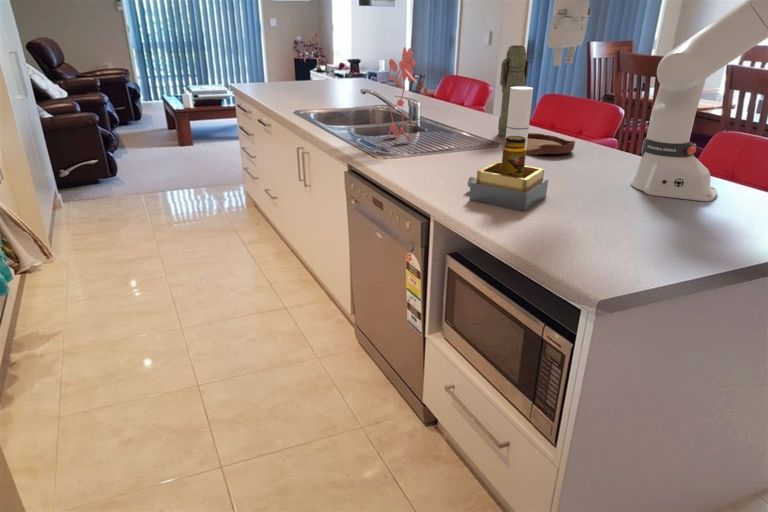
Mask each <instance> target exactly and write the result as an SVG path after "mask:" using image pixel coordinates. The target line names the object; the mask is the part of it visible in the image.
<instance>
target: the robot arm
mask: <svg viewBox="0 0 768 512" xmlns="http://www.w3.org/2000/svg"><path fill="white" fill-rule="evenodd" d="M591 15H592V8H591V6H590V0H553V7H552V15H551V16H552V18H551V20H550V23H549V30H548V35H547V36H548V37H547V43H546V45H547V48H549V49H552V56H553V64H552V65H553V66H555V67H560V66H562V61H563V59H562V53H563V50H564V48H566V49H567V51H566V55H565V57H564V64H572V63H573V61H574V57H575V53H576V51H577V46H582V44H583V43H584V40H585V36H586V31H587V26H588V22H589V19H588V18H590V16H591ZM767 39H768V0H743V1H740V2H739V3H738V4H737V5H735V6H734V7H733V8H731V9H730V10H728V11H727V12H726V13H724V14H723V15H721V16H720V17H718V18H717V19H716V20H714V21H713V22H711V23H710V24H709V25H707V26H706V27H703V28H702V29H701V30H700V31H698V32H696V33H695V34H694V35H692V36H691V37H689V38H688V39H686V40H685V41H683V42H682V43H680V44H679V45H677V46H676V47H674V48H673V49H671V50H670V51H669V52H668V53H666V54H665V55H664V56H663V57H662V58H661V60H660V61H659V63H658V65H657V69H656V78H657V81H658V83H659V84H660V85H659V87H658V91H657V94H656V97H655V100H654V103H653V106H652V109H651V114H650V117H649V118H650V119H649V124H648V128H647V132H646V137H644V140H643V142H642V147H641V153H640V154H641V155H640V156H641V159H640V161H639V165H638V166H637V169H636V172H635V174H634V177H633V178H632V181H631V182H630V185H631V186H632V187H634V188H635V189H637V190H640V191H641V192H642V191H643V192H644V193H645V194H647V195H650V196H657V197H665V198H673V199H674V198H675V199H683V200H691V201H697V202H699V201H700V202H709V201H713V200H714V199H715V198H716V197H717V195H718V194H717V193H718V190H717V189H716V187H713V186H711V173H710V171H709V169H708V168H707V167H706V166H705V165H704V164H703V163H702V162H701V161H700V160H699V159H698V158H697V157H696V156H695V153H696V152H697V144H696V143H693V142H692V141H690V139H691V135H692V131H693V127H694V122H695V118H696V114H697V111H698V107H699V105H700V101H701V98H702V94H703V89H704V87H705V83H706V80H707V78H709V77H710V76H712V75H713V74H714V73H716V72H718V71H719V70H721V69H722V68H723V67H726V66H727V65H728V64H730V63H731V62H733V61H734V60H736V59H737V58H739V57H740V56H742V55H743V54H745V53H746V52H748V51H750V50H751V49H752V48H755V47H756V46H757V45H759V44H760V43H762V42H763V41H765V40H767Z"/></svg>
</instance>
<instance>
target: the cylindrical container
mask: <svg viewBox="0 0 768 512" xmlns="http://www.w3.org/2000/svg"><path fill="white" fill-rule="evenodd" d="M533 93H534V88H533V87H530V86H525V87H511V88H510V98H509V108H508V118H507V129H506V137H508V136H521V137H524V138H525V139H526V141H525V148H527V139H528V133H529V131H530V130H529V129H530V128H529V127H530V121H531V112H532V104H533V103H532V102H533ZM506 137H505V138H506ZM505 142H506V140H505V141H504V143H505ZM526 156H527V154H526V155H525V158H526ZM525 164H526V163H525ZM525 164H524V166H526V165H525Z"/></svg>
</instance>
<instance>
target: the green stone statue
mask: <svg viewBox="0 0 768 512" xmlns="http://www.w3.org/2000/svg"><path fill="white" fill-rule="evenodd" d="M505 57H506V58H504V59H503V60H502V62H501V69H500V70H501V71H500V79H499V80H500V82H499V84H500V86H501V93H502V95H501V100H502V101H501V109H500V116H499V118H498V125H497V130H498V132H497V133H498V134H497V136H498V137H500V138H506V129H507V118H508V108H509V98H510V88H511V87H526V85H527V82H528V77H529V76H528V75H529V68H530V67H529V66H530V60H529V58H527V50H526V47H525V46H524V45H516V44H515V45H511V46H509V47H508V50H507V51H506V56H505Z"/></svg>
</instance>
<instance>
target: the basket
mask: <svg viewBox="0 0 768 512" xmlns="http://www.w3.org/2000/svg"><path fill="white" fill-rule="evenodd" d="M575 144H576V141H575V140H567V139H564V138H560V137H558V136H555V135H549V134H544V133H537V132H536V133H535V132H534V133H533V132H532V133H531V132H530V133H529V132H528V139H527V148H526V155H528V156H538V155H560V154H562V155H563V154H569V153H571V152H572V151H573V150H574V148H575Z"/></svg>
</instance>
